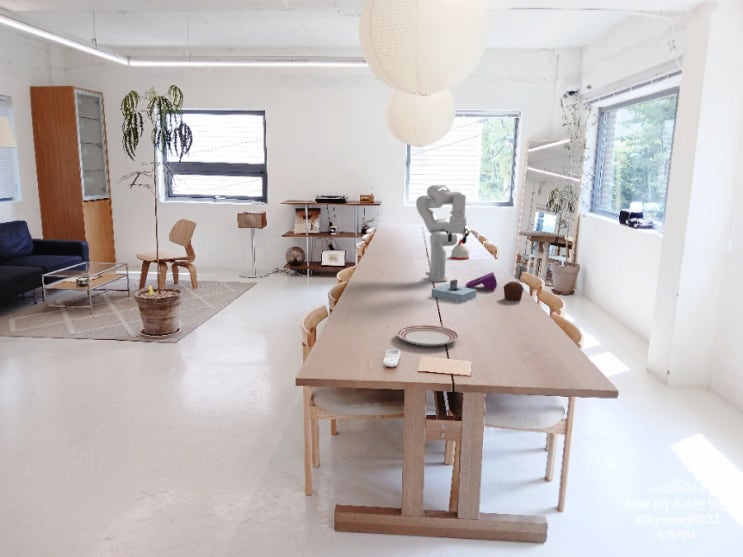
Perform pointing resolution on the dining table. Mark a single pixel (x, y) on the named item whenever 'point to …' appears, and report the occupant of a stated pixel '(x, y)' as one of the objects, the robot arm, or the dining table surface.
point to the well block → (454, 293)
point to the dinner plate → (427, 335)
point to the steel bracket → (453, 285)
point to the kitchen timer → (460, 252)
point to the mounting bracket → (484, 282)
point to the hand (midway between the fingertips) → (456, 242)
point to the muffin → (513, 291)
